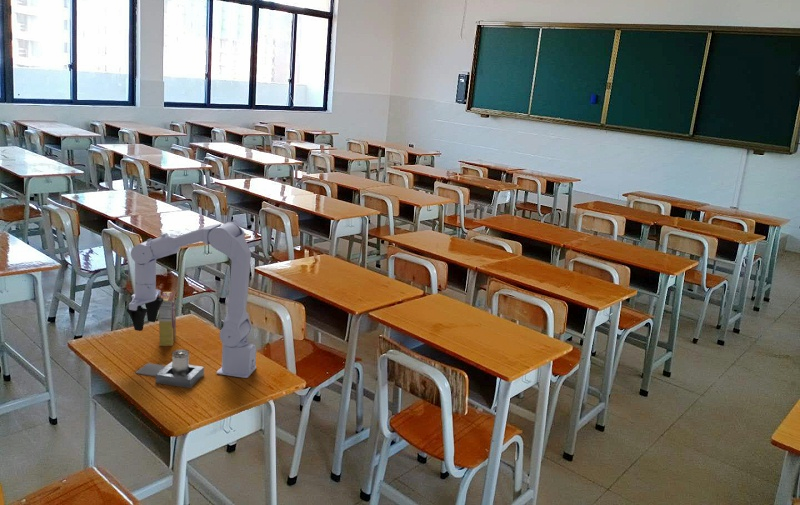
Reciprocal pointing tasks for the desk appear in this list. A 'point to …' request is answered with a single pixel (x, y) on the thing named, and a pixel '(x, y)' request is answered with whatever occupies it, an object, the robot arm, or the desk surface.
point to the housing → (176, 380)
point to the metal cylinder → (180, 362)
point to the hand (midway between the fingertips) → (145, 325)
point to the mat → (150, 369)
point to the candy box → (167, 319)
